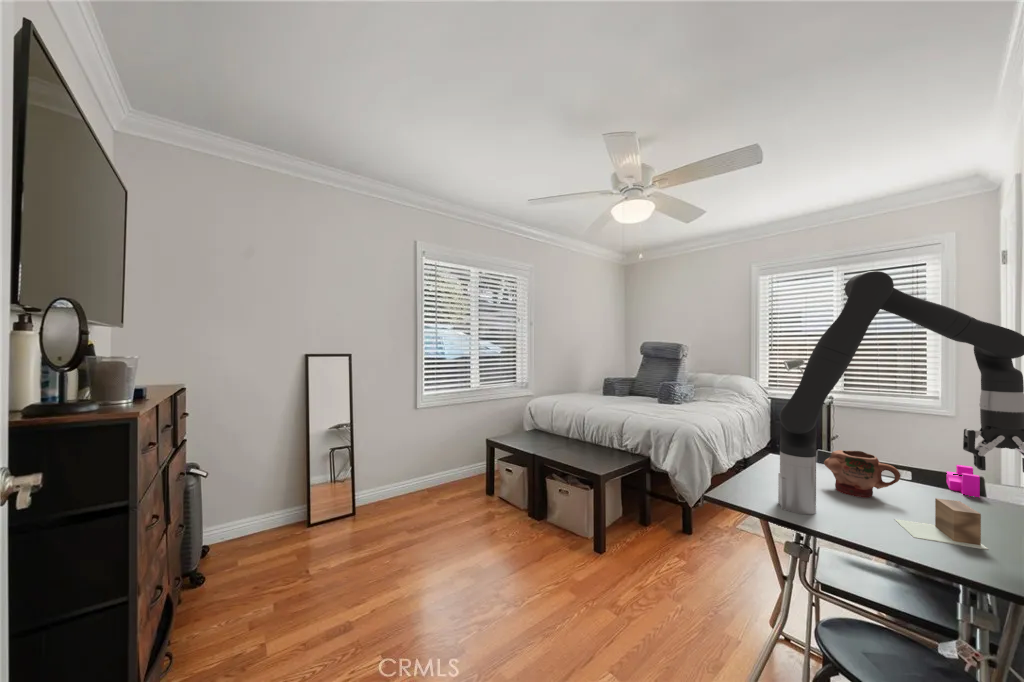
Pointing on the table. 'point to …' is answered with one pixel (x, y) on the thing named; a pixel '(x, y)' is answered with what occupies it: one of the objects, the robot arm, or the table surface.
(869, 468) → the decorative planter
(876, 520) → the table surface
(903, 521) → the mat
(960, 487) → the toy block
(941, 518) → the walnut block
